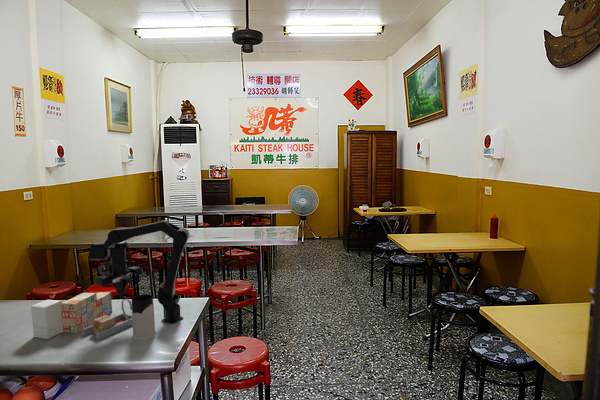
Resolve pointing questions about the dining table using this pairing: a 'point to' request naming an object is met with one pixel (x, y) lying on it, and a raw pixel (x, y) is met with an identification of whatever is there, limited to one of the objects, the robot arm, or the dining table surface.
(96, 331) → the tan cube
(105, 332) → the trap channel
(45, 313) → the supplement box
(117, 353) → the dining table surface
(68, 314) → the stack of blocks
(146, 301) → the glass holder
